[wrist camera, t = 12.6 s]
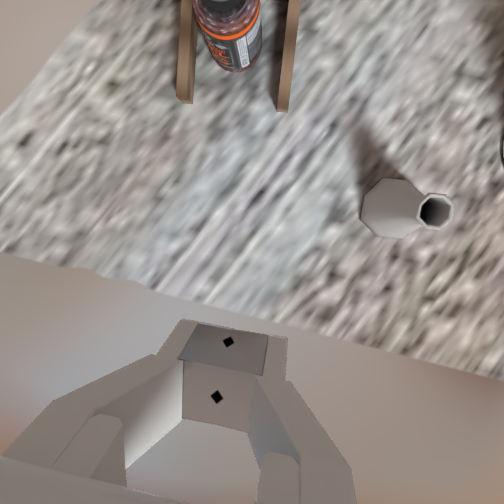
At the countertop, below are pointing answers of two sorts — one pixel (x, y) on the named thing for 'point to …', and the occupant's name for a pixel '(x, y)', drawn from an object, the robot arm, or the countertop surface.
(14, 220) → the countertop surface
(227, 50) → the supplement bottle
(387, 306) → the countertop surface
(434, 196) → the flask
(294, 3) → the walnut bay
